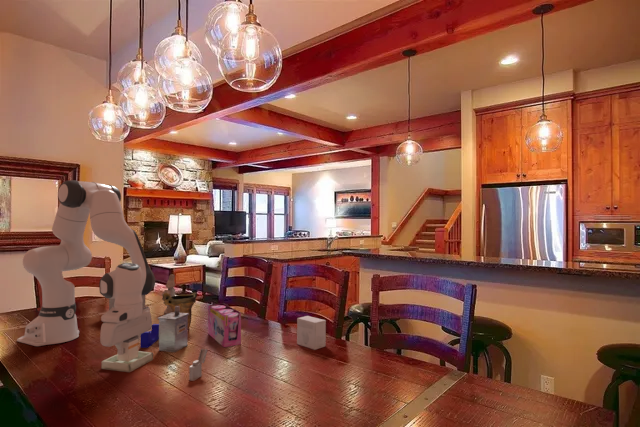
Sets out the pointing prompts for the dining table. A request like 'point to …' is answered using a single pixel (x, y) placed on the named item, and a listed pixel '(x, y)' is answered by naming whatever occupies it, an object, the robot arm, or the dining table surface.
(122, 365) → the parts tray
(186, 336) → the box
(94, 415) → the dining table surface
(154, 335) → the blue notched block
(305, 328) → the skincare box
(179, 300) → the pot
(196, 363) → the lighter
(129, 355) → the block
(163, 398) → the dining table surface
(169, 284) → the figurine
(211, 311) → the gum box
